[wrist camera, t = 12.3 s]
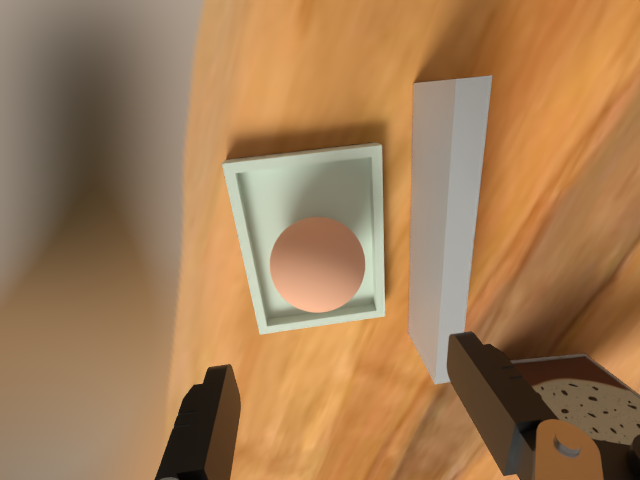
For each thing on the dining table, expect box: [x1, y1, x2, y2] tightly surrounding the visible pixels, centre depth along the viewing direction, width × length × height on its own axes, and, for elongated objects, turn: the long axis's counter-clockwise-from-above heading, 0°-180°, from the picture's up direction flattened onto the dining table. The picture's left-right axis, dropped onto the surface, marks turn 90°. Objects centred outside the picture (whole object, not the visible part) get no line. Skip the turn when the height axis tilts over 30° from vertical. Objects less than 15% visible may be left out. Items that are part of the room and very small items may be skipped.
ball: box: [270, 217, 365, 313], centre depth 19 cm, size 6×6×6 cm
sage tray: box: [222, 142, 385, 334], centre depth 21 cm, size 9×12×1 cm
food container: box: [511, 353, 640, 445], centre depth 25 cm, size 12×6×10 cm, turn 91°
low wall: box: [408, 75, 492, 384], centre depth 20 cm, size 2×18×5 cm, turn 5°
